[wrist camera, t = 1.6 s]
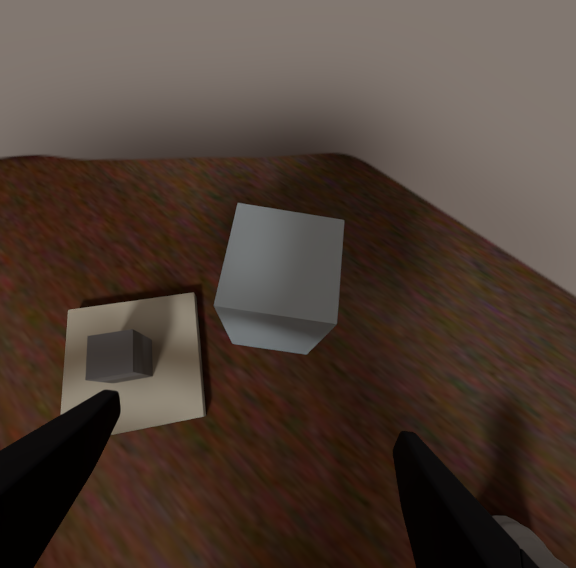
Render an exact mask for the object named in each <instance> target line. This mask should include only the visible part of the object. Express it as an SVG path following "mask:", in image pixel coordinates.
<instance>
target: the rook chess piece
mask: <svg viewBox="0 0 576 568" xmlns="http://www.w3.org/2000/svg"><path fill="white" fill-rule="evenodd" d="M492 517H493V518H494V519H495V520H496V521H497V522H498V523H499V524H500V525H501V527H502V528H503V529H504V530H505V531H506V532H507V533H508V534H509V535H510V536H511V537H512V538H513V540H514V541H515V542H516V543H517V544H518V545H519V547H520V548H521V549H523V550H524V551H525V552H526V553H527V555H528V556H529V557H530V558H531V559H532V560H533V561H534V562H535V563H536V564H537V565H538V566H539V567H540V568H569V567H568V566H566V565H565V564H563V563H562V562H561V561H559V560H558V559H556V558H555V557H554V556H553V555H552V553H551V552H550V551H549V550H548V549H547V548H546V546H545V544H544V543H543V542H542V541H541V540H540V539H539V538H538V537H537V536H536V535H535V534H534V533H533V532H532V531H531V530H530V529H529V528H527V527H525V526H523V525H521V524H520V523H519V522H517V521H515V520H513V519H511V518H509V517H507V516H492Z"/></svg>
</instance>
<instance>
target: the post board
mask: <svg viewBox="0 0 576 568" xmlns="http://www.w3.org/2000/svg"><path fill="white" fill-rule="evenodd" d="M106 389H107V390H114V391H118V392H119V396H120V406H121V413H120V417H119V419H118V421H117V423H116V425H115V427H114V429H113V431H112V433H111V435H113V434H118V433H123V432H128V431H133V430H138V429H143V428H148V427H153V426H158V425H163V424H168V423H173V422H178V421H183V420H188V419H193V418H198V417H203V416H206V408H205V396H204V384H203V372H202V360H201V348H200V335H199V323H198V311H197V299H196V295H195V294H194V292H193V293H185V294H178V295H171V296H164V297H157V298H150V299H143V300H136V301H128V302H121V303H114V304H107V305H100V306H93V307H86V308H78V309H71V310H68V320H67V334H66V348H65V361H64V375H63V389H62V403H61V415H62V414H63V413H65V412H67V411H68V410H70V409H72V408H73V407H75V406H77V405H78V404H80V403H82V402H84V401H85V400H87V399H89V398H90V397H92V396H94V395H95V394H97V393H99V392H101V391H102V390H106Z"/></svg>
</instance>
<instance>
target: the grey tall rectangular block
mask: <svg viewBox="0 0 576 568" xmlns="http://www.w3.org/2000/svg"><path fill="white" fill-rule="evenodd" d="M343 234H344V220H341V219H335V218H329V217H323V216H316V215H310V214H304V213H298V212H292V211H285V210H279V209H273V208H267V207H261V206H254V205H248V204H242V203H238V204H237V208H236V213H235V217H234V221H233V225H232V230H231V234H230V238H229V242H228V247H227V251H226V255H225V259H224V264H223V268H222V272H221V277H220V281H219V285H218V289H217V294H216V298H215V302H214V307H215V309H216V311H217V313H218V315H219V317H220V319H221V321H222V323H223V325H224V328H225V330H226V332H227V334H228V336H229V338H230V340H231V342H232V344H238V345H245V346H251V347H258V348H265V349H272V350H279V351H285V352H292V353H299V354H306V355H307V354H308V353H309V352H310V351H311V350H312V349H313V348H314V347H315V346H316V345H317V344H318V343H319V342H320V341H321V340H322V339H323V338H324V337H325V336H326V335H327V334H328V333H329V332H330V331H331V330H332V329H333V328H334V327H335V326H336V325H337V317H338V303H339V289H340V275H341V262H342V248H343Z"/></svg>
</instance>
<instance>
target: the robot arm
mask: <svg viewBox="0 0 576 568" xmlns="http://www.w3.org/2000/svg"><path fill="white" fill-rule="evenodd" d="M120 413H121V406H120V396H119V392H118V391H114V390H107V389H106V390H102V391H101V392H99V393H97V394H95V395H94V396H92V397H90V398H89V399H87V400H85V401H84V402H82V403H80V404H78V405H77V406H75V407H73V408H72V409H70V410H68V411H67V412H65V413H63V414H62V415H60V416H58V417H56V418H55V419H53V420H51V421H50V422H48V423H46V424H45V425H43V426H41V427H39V428H38V429H36V430H34V431H33V432H31V433H29V434H28V435H26V436H24V437H23V438H21V439H19V440H17V441H16V442H14V443H12V444H11V445H9V446H7V447H6V448H4V449H2V450H0V568H34V566H35V565H36V563H37V561H38V560H39V558H40V556H41V555H42V553H43V552H44V550H45V548H46V547H47V545H48V543H49V542H50V540H51V538H52V537H53V535H54V534H55V532H56V530H57V529H58V527H59V525H60V524H61V522H62V520H63V519H64V517H65V516H66V514H67V512H68V511H69V509H70V507H71V506H72V504H73V503H74V501H75V499H76V498H77V496H78V494H79V493H80V491H81V489H82V488H83V486H84V485H85V483H86V481H87V480H88V478H89V476H90V475H91V473H92V471H93V469H94V468H95V466H96V464H97V462H98V460H99V458H100V456H101V454H102V452H103V450H104V448H105V446H106V444H107V442H108V440H109V437H110V435H111V433H112V431H113V429H114V427H115V425H116V423H117V421H118V419H119V417H120ZM393 458H394V465H395V471H396V478H397V484H398V490H399V497H400V502H401V508H402V512H403V517H404V521H405V525H406V528H407V532H408V536H409V540H410V544H411V548H412V552H413V556H414V560H415V564H416V568H540V567H539V566H538V565H537V564H536V563H535V562H534V561H533V560H532V559H531V558H530V557H529V556H528V555H527V553H526V552H525V551H524V550H523V549H521V548H520V547H519V545H518V544H517V543H516V542H515V541H514V540H513V538H512V537H511V536H510V535H509V534H508V533H507V532H506V531H505V530H504V529H503V528H502V527H501V525H500V524H499V523H498V522H497V521H496V520H495V519H494V518H493V517H492V516H491V515H490V514H489V512H488V511H487V510H486V509H485V508H484V507H483V506H482V505H481V504H480V503H479V502H478V501H477V499H476V498H475V497H474V496H473V495H472V494H471V493H470V492H469V491H468V490H467V489H466V488H465V486H464V485H463V484H462V483H461V482H460V481H459V480H458V479H457V478H456V477H455V476H454V475H453V473H452V472H451V471H450V470H449V469H448V468H447V467H446V466H445V465H444V464H443V463H442V462H441V460H440V459H439V458H438V457H437V456H436V455H435V454H434V453H433V452H432V451H431V450H430V449H429V447H428V446H427V445H426V444H425V443H424V442H423V441H422V440H421V439H420V438H419V437H418V436H417V435H416V434H415V433H413V432H408V431H401V432H400V434H399V436H398V438H397V441H396V443H395V446H394V448H393Z"/></svg>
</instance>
